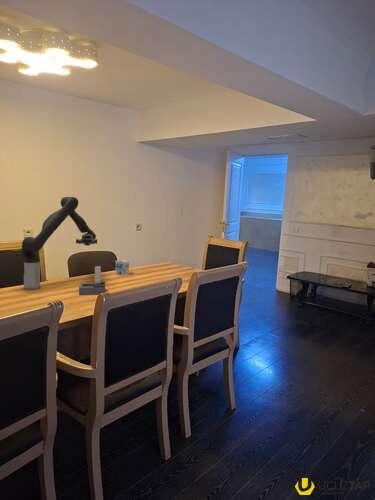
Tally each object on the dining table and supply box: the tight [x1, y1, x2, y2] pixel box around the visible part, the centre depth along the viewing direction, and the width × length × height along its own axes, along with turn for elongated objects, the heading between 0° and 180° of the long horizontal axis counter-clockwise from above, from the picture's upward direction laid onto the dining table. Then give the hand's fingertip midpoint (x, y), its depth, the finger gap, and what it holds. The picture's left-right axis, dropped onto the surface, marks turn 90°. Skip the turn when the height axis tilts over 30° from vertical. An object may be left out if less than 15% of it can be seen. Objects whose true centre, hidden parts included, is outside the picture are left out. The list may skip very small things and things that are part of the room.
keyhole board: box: [78, 280, 106, 296], centre depth 224 cm, size 16×12×6 cm
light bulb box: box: [114, 259, 130, 276], centre depth 279 cm, size 11×7×11 cm, turn 105°
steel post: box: [94, 265, 102, 284], centre depth 223 cm, size 6×6×15 cm
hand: (86, 242), depth 235 cm, fingers open, 8 cm apart
